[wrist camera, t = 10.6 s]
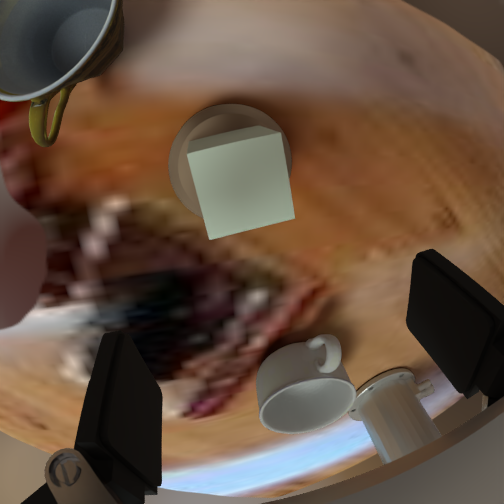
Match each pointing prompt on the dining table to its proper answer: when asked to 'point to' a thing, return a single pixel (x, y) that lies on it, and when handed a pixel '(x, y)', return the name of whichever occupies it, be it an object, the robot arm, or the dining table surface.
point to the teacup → (304, 386)
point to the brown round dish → (208, 125)
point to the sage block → (241, 180)
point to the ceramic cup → (55, 52)
